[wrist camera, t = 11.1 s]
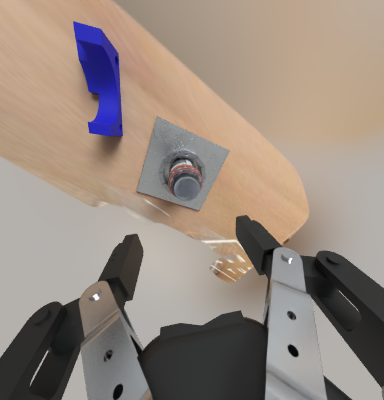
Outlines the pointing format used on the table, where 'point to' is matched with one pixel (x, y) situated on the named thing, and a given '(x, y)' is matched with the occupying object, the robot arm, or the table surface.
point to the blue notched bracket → (101, 78)
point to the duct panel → (173, 150)
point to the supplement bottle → (184, 180)
